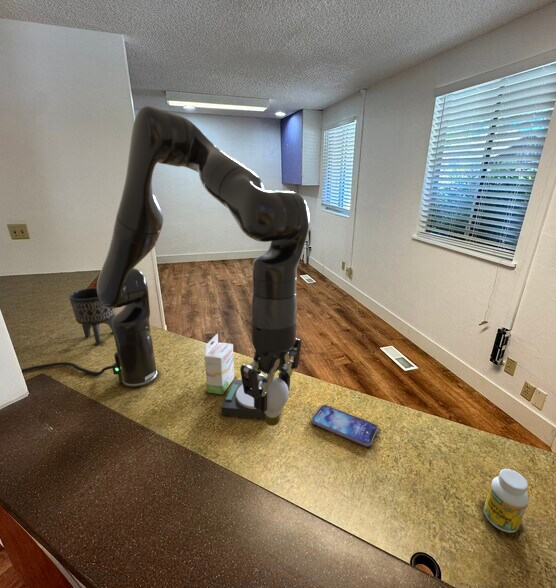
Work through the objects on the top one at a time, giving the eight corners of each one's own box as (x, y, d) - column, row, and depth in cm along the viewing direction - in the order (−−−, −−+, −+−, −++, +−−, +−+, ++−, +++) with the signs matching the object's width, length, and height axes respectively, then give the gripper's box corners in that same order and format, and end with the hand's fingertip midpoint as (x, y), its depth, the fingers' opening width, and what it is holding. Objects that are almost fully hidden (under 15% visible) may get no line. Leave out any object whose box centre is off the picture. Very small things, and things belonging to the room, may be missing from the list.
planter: (110, 326, 122) (102, 285, 116) (126, 336, 115) (118, 292, 109) (73, 338, 113) (62, 293, 107) (89, 349, 106) (78, 302, 100)
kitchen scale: (221, 415, 77) (220, 404, 76) (234, 386, 89) (234, 376, 88) (275, 420, 76) (275, 409, 75) (282, 390, 87) (282, 380, 86)
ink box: (223, 395, 84) (220, 348, 80) (206, 392, 85) (202, 346, 80) (235, 377, 93) (233, 334, 88) (220, 375, 93) (217, 332, 88)
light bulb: (292, 417, 60) (294, 374, 56) (280, 439, 55) (282, 393, 51) (264, 409, 62) (265, 367, 58) (251, 430, 56) (250, 385, 53)
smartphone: (322, 403, 81) (378, 425, 74) (322, 406, 81) (378, 428, 74) (310, 420, 75) (369, 445, 68) (310, 423, 75) (369, 448, 68)
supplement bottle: (523, 522, 54) (538, 482, 51) (510, 540, 51) (526, 500, 48) (490, 498, 58) (503, 460, 55) (477, 513, 55) (490, 475, 52)
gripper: (283, 300, 58) (281, 374, 64) (225, 325, 47) (229, 412, 53) (316, 310, 54) (310, 388, 60) (261, 340, 43) (261, 433, 49)
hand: (272, 399), depth 56 cm, fingers closed on light bulb, 6 cm apart
